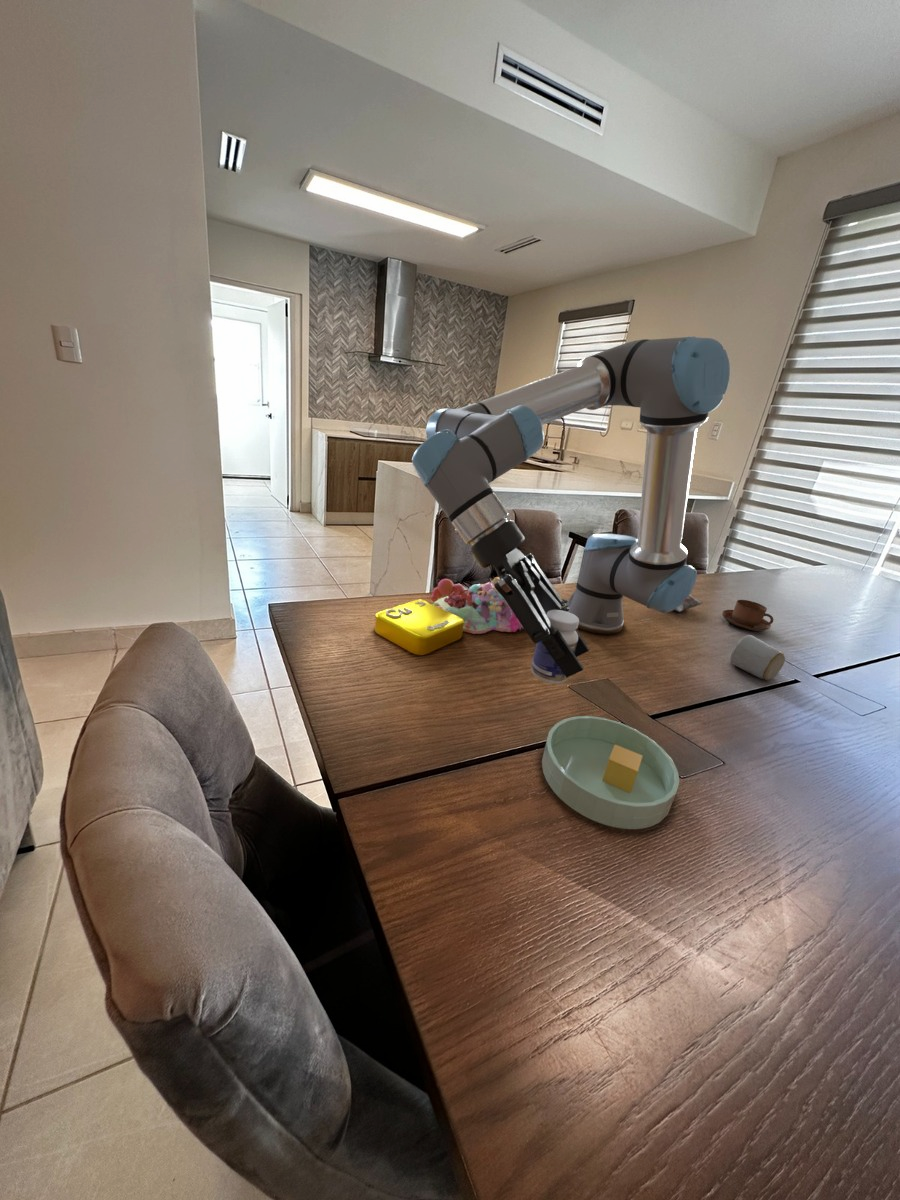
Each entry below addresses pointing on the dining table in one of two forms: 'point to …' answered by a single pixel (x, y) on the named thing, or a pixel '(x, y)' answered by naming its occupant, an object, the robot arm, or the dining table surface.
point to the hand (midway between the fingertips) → (578, 662)
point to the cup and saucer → (748, 616)
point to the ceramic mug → (757, 658)
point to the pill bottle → (542, 659)
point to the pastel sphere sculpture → (476, 606)
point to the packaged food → (688, 603)
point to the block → (622, 768)
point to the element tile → (419, 626)
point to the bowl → (580, 768)
